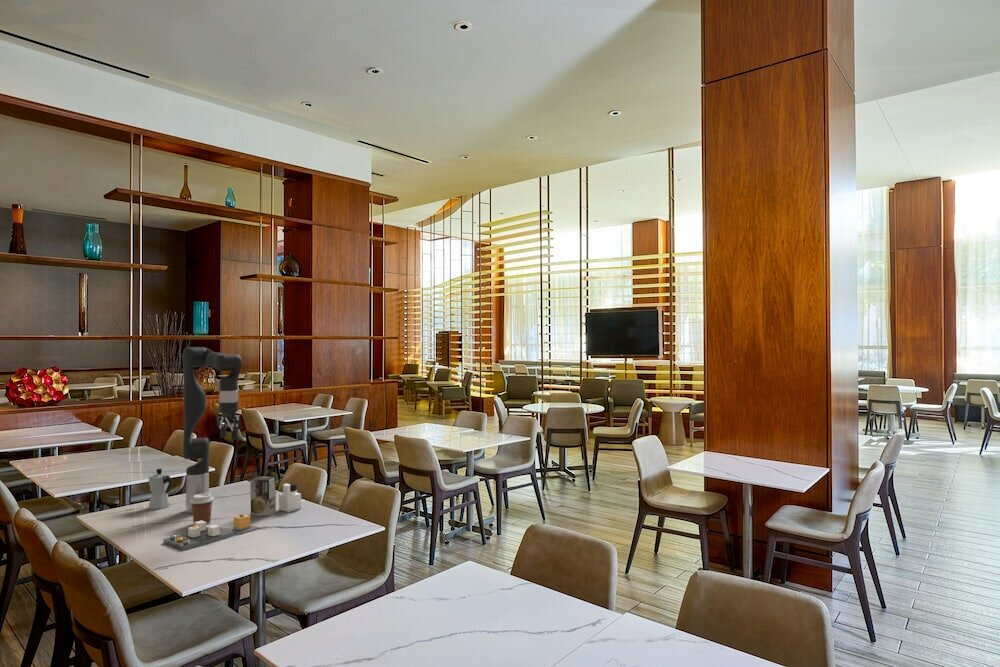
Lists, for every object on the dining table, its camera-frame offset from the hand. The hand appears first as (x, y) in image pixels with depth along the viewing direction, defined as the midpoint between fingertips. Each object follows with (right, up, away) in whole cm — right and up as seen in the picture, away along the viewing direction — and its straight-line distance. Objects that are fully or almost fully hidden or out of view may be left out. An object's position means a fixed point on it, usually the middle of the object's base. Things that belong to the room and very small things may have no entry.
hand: (228, 438), depth 248 cm
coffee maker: (-43, -37, +24) cm, 62 cm away
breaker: (+4, -34, -22) cm, 40 cm away
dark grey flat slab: (-1, -36, -21) cm, 42 cm away
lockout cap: (+10, -35, -10) cm, 38 cm away
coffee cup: (-11, -36, -1) cm, 38 cm away
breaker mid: (-3, -34, -23) cm, 41 cm away
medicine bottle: (+19, -37, +19) cm, 46 cm away
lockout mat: (+10, -36, -10) cm, 38 cm away
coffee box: (+10, -37, +12) cm, 40 cm away
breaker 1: (-4, -34, -16) cm, 38 cm away
